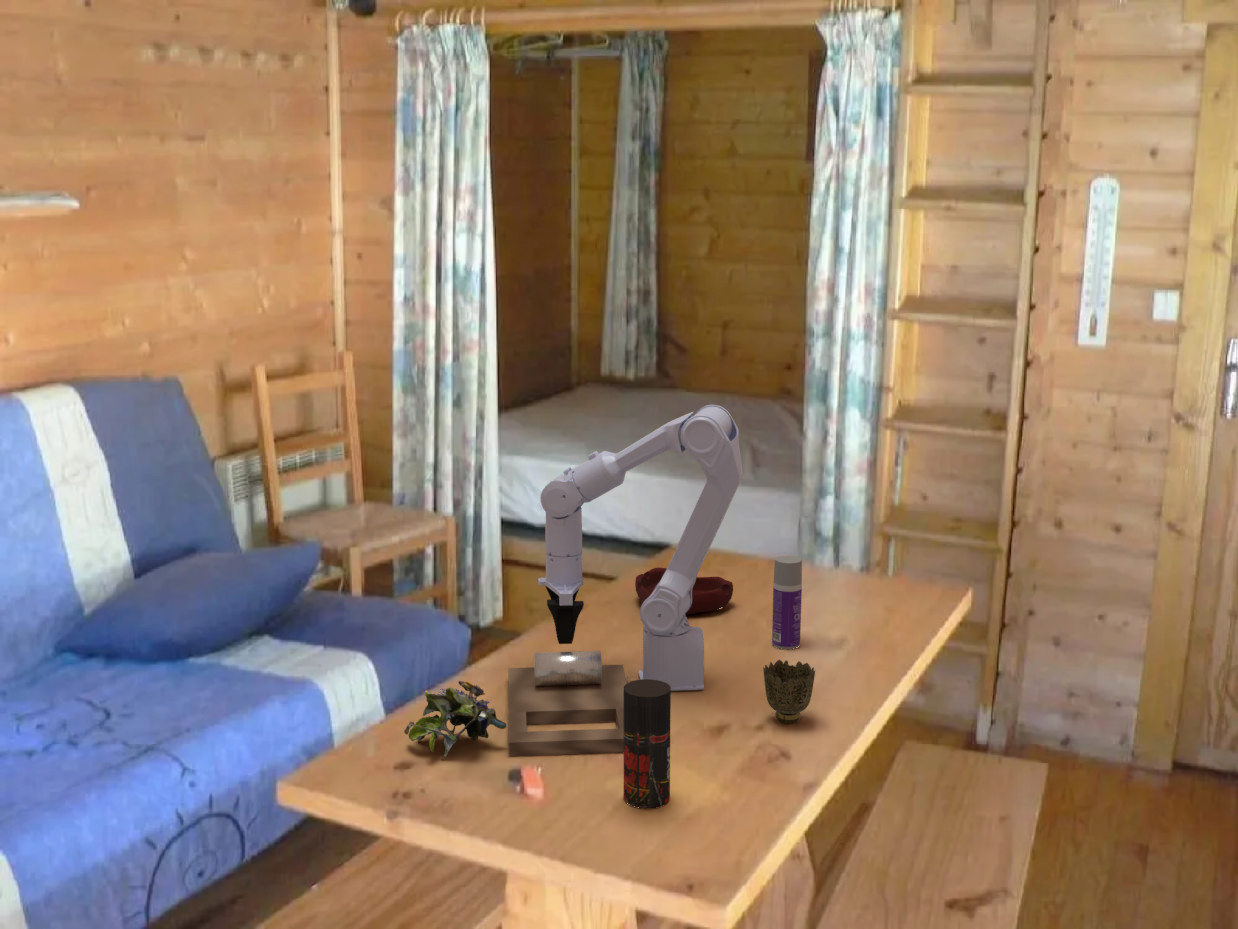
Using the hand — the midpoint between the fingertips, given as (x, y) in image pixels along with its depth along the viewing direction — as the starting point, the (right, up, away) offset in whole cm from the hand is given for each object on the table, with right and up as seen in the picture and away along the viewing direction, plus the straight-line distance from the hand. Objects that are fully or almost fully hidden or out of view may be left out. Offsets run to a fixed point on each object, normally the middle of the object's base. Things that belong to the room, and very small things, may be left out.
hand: (564, 634), depth 216 cm
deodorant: (+12, -16, -41) cm, 46 cm away
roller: (+1, -4, -9) cm, 10 cm away
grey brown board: (+1, -10, -15) cm, 18 cm away
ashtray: (+19, 0, +33) cm, 38 cm away
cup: (+33, -11, -17) cm, 39 cm away
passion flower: (-14, -13, -27) cm, 33 cm away
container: (+37, -4, +14) cm, 39 cm away
